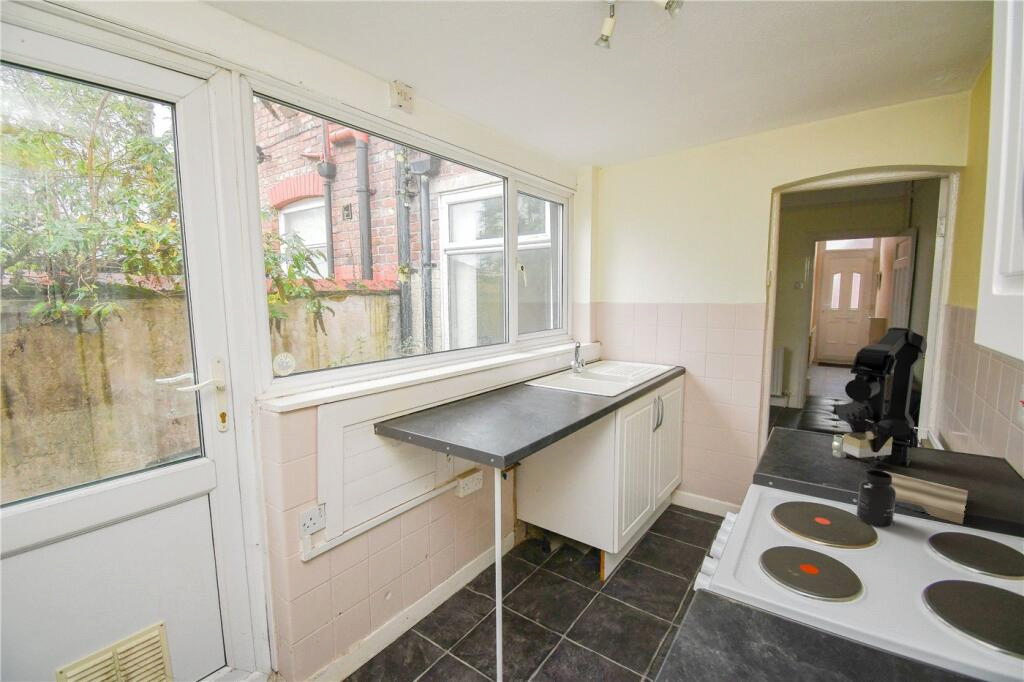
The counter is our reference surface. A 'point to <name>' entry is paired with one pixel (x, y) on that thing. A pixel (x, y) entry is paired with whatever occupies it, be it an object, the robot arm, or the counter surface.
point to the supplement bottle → (876, 499)
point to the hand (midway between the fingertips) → (867, 448)
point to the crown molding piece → (931, 497)
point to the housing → (864, 445)
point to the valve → (839, 452)
